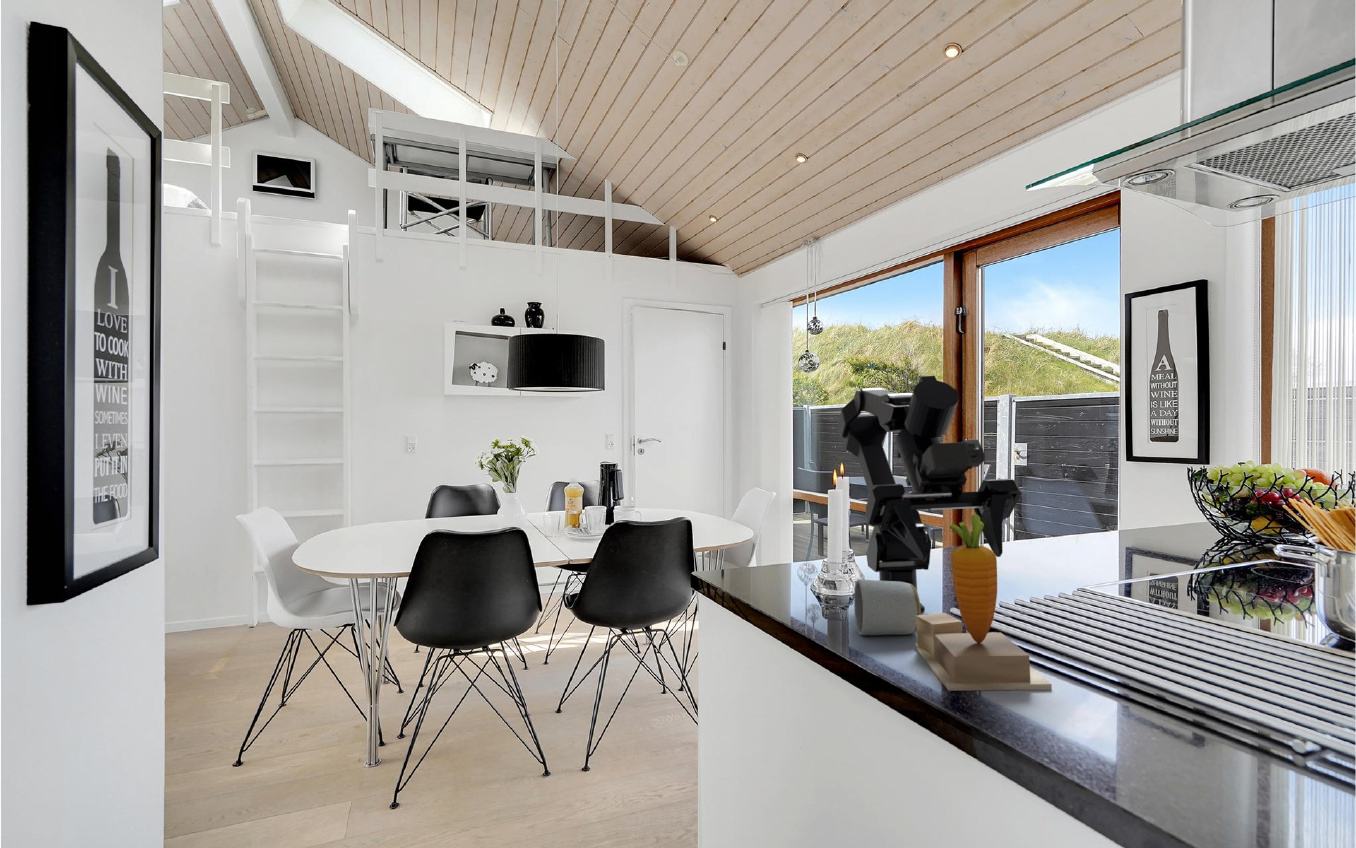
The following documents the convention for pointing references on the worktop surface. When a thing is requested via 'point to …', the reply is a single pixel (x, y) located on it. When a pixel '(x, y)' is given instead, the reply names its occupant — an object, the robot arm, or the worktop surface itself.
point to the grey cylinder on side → (885, 607)
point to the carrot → (974, 580)
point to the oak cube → (935, 629)
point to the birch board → (1035, 679)
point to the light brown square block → (982, 659)
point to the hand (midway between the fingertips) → (962, 556)
